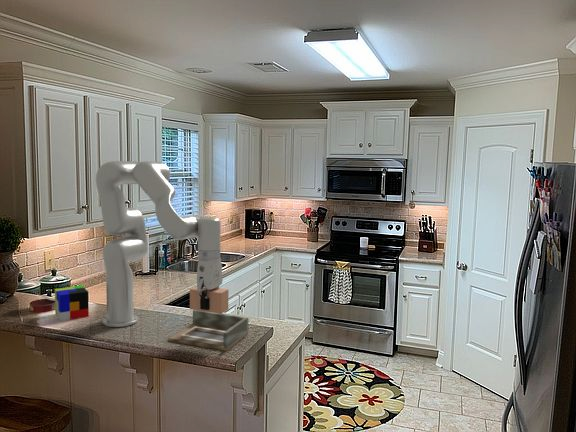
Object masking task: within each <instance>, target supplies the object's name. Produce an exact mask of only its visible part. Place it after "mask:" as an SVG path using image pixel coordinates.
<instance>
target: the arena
mask: <svg viewBox="0 0 576 432" xmlns="http://www.w3.org/2000/svg"><path fill="white" fill-rule="evenodd" d="M249 318H250V317H249V316H248V317H247V316H240V315H235V314H227V313H222V314H220V313H213V312H206V311H198V310H192V323H191V324H190V325H188V326H186V327H185V328H183V329H181V330H179V331H177V332H176V333H174V334H173V335H171V336H170V337H168V339H167V341H168V342H172V343H177V344H184V345H191V346H196V347H201V348H207V349H212V350H213V349H214V350H218V351H223V352H228V351H229V350H230V349H231V348H232V347H233V346H235V345H236V344H238V342H240V341H241V340H243V337H244V338H245V337H246V336H248V335H249Z"/></svg>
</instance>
